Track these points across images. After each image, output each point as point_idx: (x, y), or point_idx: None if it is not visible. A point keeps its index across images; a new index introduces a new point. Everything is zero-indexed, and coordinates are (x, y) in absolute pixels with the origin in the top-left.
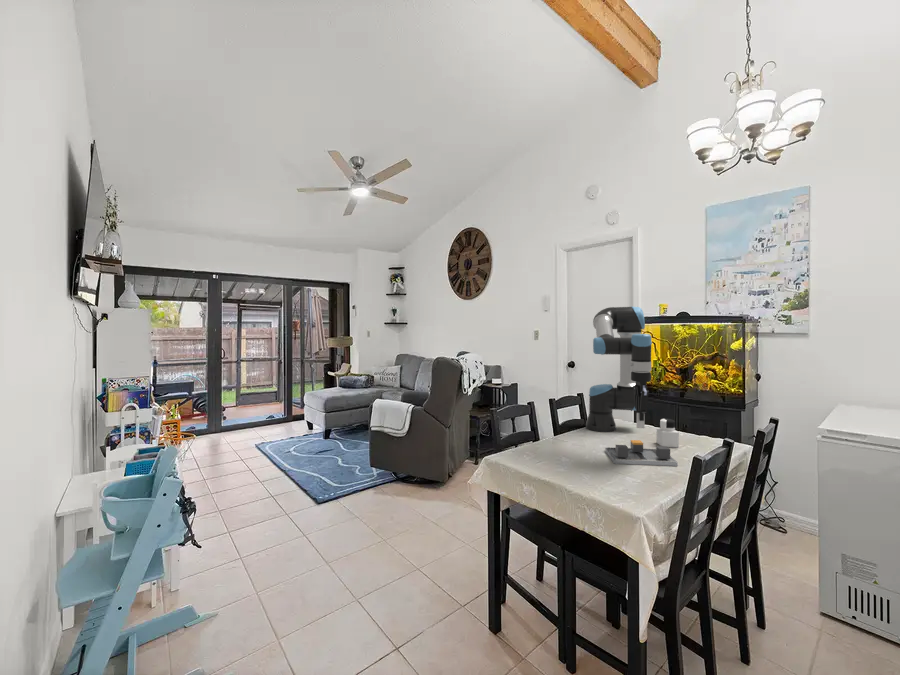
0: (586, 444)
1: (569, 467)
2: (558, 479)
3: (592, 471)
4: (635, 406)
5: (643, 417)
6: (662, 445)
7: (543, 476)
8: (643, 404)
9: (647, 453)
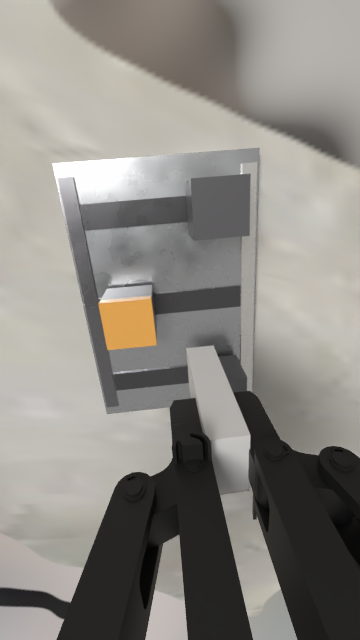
0: (43, 455)
1: None
2: None
3: (321, 446)
4: (150, 556)
5: (264, 414)
6: None
7: None
8: None
9: (145, 263)
